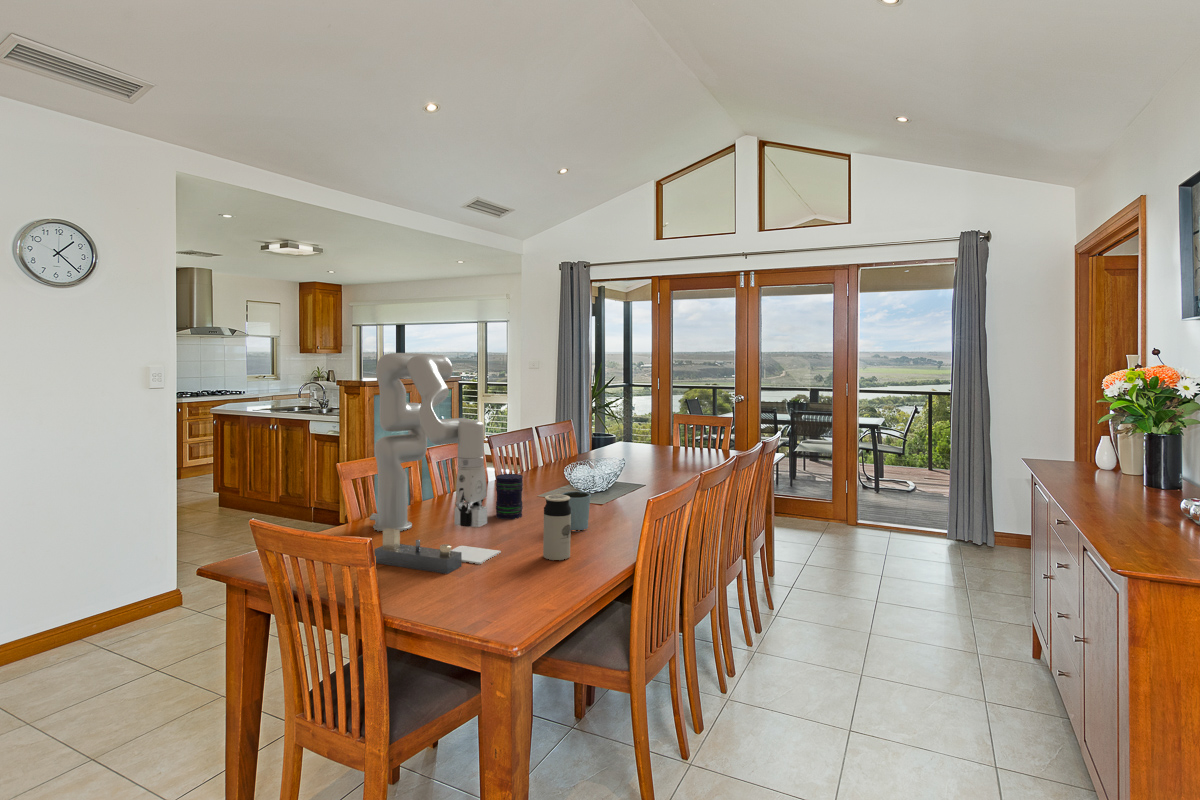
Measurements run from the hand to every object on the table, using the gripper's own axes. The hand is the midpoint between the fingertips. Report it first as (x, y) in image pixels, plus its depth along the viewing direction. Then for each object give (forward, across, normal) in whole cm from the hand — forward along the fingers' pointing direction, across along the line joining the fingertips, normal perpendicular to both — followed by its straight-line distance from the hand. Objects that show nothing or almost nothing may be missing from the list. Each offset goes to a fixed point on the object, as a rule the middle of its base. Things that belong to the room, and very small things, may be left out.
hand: (470, 523), depth 189 cm
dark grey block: (+10, -13, +9) cm, 19 cm away
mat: (+10, 0, 0) cm, 10 cm away
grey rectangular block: (0, 0, 0) cm, 0 cm away
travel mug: (+10, +9, -24) cm, 27 cm away
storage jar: (+10, +47, +12) cm, 50 cm away
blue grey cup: (+10, +41, -17) cm, 45 cm away
